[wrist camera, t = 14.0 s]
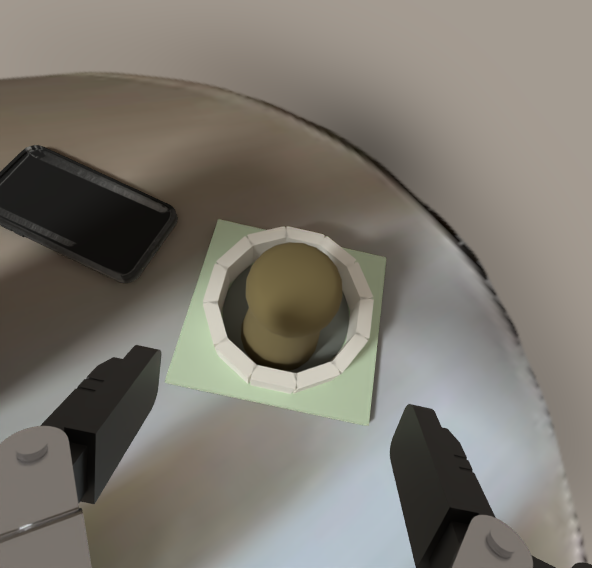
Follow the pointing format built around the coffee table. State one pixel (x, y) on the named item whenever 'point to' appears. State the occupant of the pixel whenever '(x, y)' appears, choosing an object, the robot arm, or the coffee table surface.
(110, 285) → the coffee table surface
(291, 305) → the cork
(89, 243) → the phone
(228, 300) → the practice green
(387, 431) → the coffee table surface
